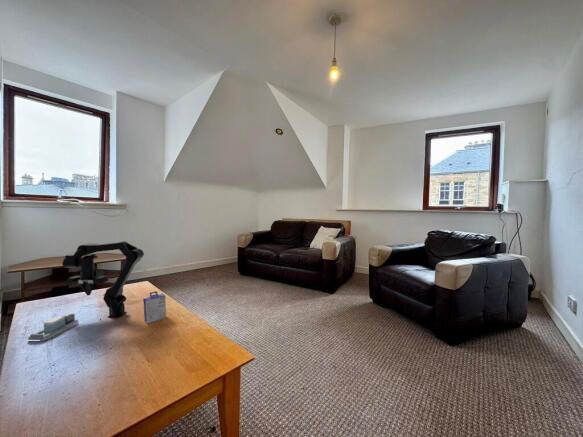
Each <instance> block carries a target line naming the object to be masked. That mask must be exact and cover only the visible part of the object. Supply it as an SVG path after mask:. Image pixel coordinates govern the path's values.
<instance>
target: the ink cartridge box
mask: <svg viewBox="0 0 583 437" xmlns="http://www.w3.org/2000/svg"><path fill="white" fill-rule="evenodd" d="M166 300H167V299H166V295H165V294H163V293H160V294H158V291H152V292H149V296H148V297H144V298H143V300H142V301H143V313H144V314H143V315H144V317H143V318H144V322H145V324H149V323H153V322H155V321H156V322H157V321H160V320H162V319H166V318H167V307H166V306H167V304H166V303H167V302H166Z"/></svg>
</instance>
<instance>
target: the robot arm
mask: <svg viewBox="0 0 583 437" xmlns="http://www.w3.org/2000/svg"><path fill="white" fill-rule="evenodd" d="M115 250H118V251H120V252H121V253H122V255H124V256H125V259H124V260H125V264H124V266H123V267H122V269H121V271H120V273H119V275H118V277H117V278H116V281H115V283H114V284H113V285H111V286H110V287H108V288H107V289H106V290H105V292H104V294H103V295H102V296H103V301H104V303H105V305H106V306H107V308H108V314H109V315H108V316H107V318H110V319H111V318H120V317H122V316H124V315H126V314H127V313H128V312H127V311H126V310H125V302H126V301H127V297H126V296H125V295H124V294H123V292H124V285H125V284H126V282H127V281H128V279H129V277H130V275H131V273H132V272H133V269H134V267H135V266H136V265H137V263H139V261H141V260H142V258H143V257H144V255H145V253H144V251H143V250H142V249H141V248H138V247H137V246H134V245H132V244H130V243H129V242H127V241H120V242H119V241H118V242H111V243H84V244H81V245H78V247H77V249H76V251H75V252H74V254H66V255H65V258H63V261H62V263H61V265H62V266H63V268H67V269H69V268H71V269H72V268H79V267H80V269H78V273H80V275H74V276H71V277H68V278H67V280H66V284H69V285H71V284H74V283H75V282H78V283H77V286H79V287H80V289H81V290H83V292H84V293H85V294H86V296H91V294H92V291H93V289H94V287H95V285H101V284H103V283H106V282H108V281H109V277H108V276H107V275H103V274H104V270H99V269H97V267H95V259H98V258H99V256H97V255H96V254H95V253H97V252H98V253H99V252H107V251H115Z"/></svg>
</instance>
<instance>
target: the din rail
mask: <svg viewBox="0 0 583 437" xmlns="http://www.w3.org/2000/svg"><path fill="white" fill-rule="evenodd" d="M75 316H76V315H75V313H65V314H64V315H61V316H60V317H65V325H64V326H63V327H61V328H59V329H57V330H55V331H53V332H51V333H44V328H43V329H41V330H40V331H37V332H35V333H31V334H30V336H28V337H27V341H28V340H40V341H45V340H47V339H49V338H51V337H53V336H54V337H56V336H58V335H61V334H62V333H63V331H64V332H65V330H66V331H67V330H69V329H71V328H73V327H75V326H76V325H78V324H79V320H78V319H77V318H76V317H75ZM55 335H56V336H55ZM54 337H53V338H54ZM51 339H52V338H51ZM49 340H50V339H49ZM47 341H48V340H47ZM45 342H46V341H45Z"/></svg>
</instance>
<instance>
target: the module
mask: <svg viewBox="0 0 583 437" xmlns="http://www.w3.org/2000/svg"><path fill="white" fill-rule="evenodd" d="M64 325H65V317H61V316H55V317H52V318H51V319H47V320H46V321H44V322H43V329H44V333H51V332H53V331H55V330H57V329H59V328H61V327H63V326H64Z"/></svg>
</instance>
